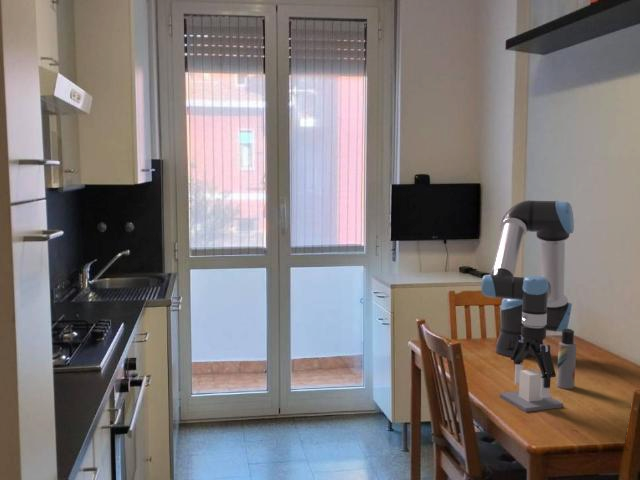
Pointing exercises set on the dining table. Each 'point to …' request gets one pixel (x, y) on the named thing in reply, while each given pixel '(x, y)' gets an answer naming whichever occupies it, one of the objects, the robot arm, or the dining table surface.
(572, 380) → the lotion bottle
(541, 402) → the post board
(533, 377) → the tall white block
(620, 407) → the dining table surface
